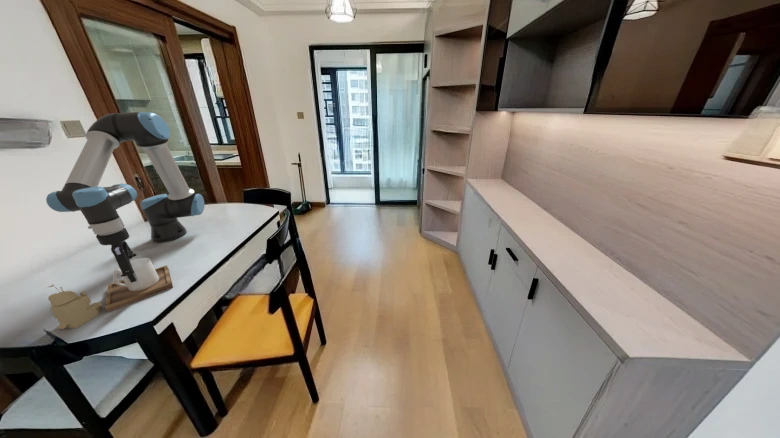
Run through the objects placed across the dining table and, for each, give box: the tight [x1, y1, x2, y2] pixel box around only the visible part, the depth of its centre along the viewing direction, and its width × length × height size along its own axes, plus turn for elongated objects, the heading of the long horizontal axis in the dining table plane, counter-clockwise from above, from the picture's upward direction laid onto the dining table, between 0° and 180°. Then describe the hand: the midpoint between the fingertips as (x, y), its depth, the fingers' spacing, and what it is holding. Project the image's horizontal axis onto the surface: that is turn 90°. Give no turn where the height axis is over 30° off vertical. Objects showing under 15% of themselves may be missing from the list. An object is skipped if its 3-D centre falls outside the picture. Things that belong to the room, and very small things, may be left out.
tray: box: [104, 265, 174, 313], centre depth 98 cm, size 18×18×2 cm
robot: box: [47, 284, 103, 332], centre depth 81 cm, size 10×8×15 cm
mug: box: [112, 257, 159, 291], centre depth 96 cm, size 12×9×9 cm
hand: (137, 279), depth 97 cm, fingers open, 13 cm apart
